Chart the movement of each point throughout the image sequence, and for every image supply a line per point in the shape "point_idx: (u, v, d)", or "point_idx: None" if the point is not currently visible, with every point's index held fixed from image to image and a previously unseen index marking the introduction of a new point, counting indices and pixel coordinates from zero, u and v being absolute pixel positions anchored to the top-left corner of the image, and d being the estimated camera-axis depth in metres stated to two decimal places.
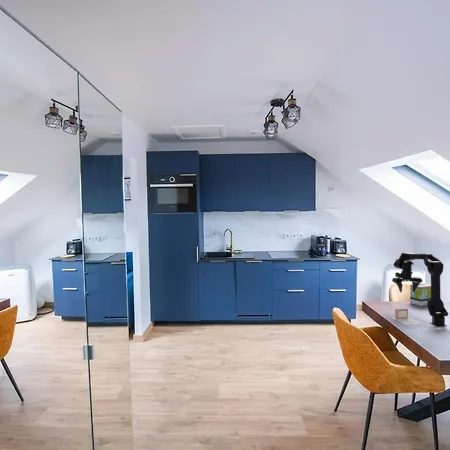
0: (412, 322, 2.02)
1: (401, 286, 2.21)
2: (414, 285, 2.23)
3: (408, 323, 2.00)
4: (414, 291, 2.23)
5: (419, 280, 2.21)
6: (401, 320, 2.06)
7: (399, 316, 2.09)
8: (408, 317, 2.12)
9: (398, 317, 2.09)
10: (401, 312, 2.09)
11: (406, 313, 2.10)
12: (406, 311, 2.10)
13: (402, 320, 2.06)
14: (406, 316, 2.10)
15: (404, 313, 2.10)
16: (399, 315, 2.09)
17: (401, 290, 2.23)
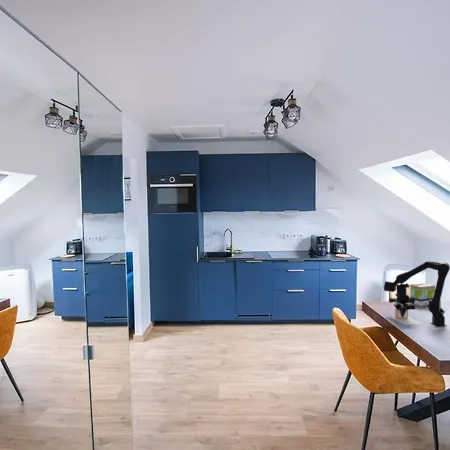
0: (412, 322, 2.02)
1: (396, 308, 2.12)
2: None
3: (408, 323, 2.00)
4: None
5: (404, 306, 2.03)
6: (401, 320, 2.06)
7: (399, 316, 2.09)
8: (408, 317, 2.12)
9: (398, 317, 2.09)
10: None
11: (406, 313, 2.10)
12: (406, 311, 2.10)
13: (402, 320, 2.06)
14: (406, 316, 2.10)
15: None
16: (399, 315, 2.09)
17: None
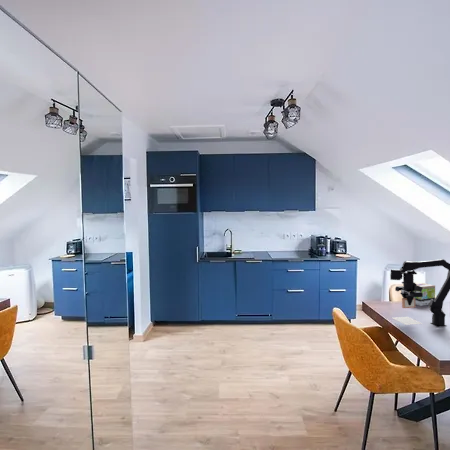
0: (412, 322, 2.02)
1: (403, 297, 2.05)
2: None
3: (408, 323, 2.00)
4: None
5: (411, 294, 1.96)
6: (401, 320, 2.06)
7: (406, 305, 2.03)
8: (408, 317, 2.12)
9: (405, 306, 2.03)
10: None
11: (413, 302, 2.03)
12: (414, 301, 2.03)
13: (402, 320, 2.06)
14: (413, 305, 2.03)
15: None
16: (406, 304, 2.03)
17: None
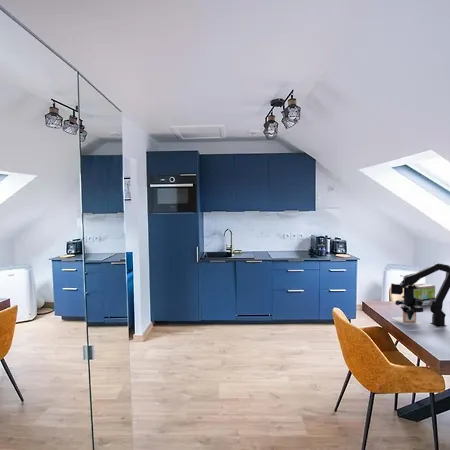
0: (412, 322, 2.02)
1: (403, 311, 2.05)
2: None
3: (408, 323, 2.00)
4: (409, 319, 2.02)
5: (412, 309, 1.96)
6: (401, 320, 2.06)
7: (407, 319, 2.02)
8: None
9: (406, 320, 2.02)
10: None
11: (414, 316, 2.03)
12: (414, 315, 2.03)
13: (402, 320, 2.06)
14: (414, 319, 2.03)
15: (412, 316, 2.03)
16: (407, 318, 2.02)
17: None
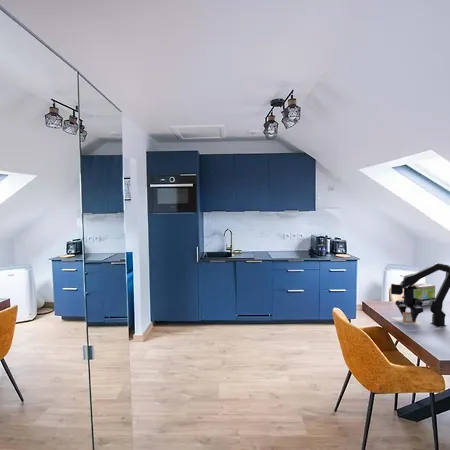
0: (412, 322, 2.02)
1: (400, 309, 2.08)
2: None
3: (408, 323, 2.00)
4: (413, 321, 1.99)
5: (412, 309, 1.96)
6: (401, 320, 2.06)
7: (407, 319, 2.02)
8: None
9: (406, 320, 2.02)
10: (409, 315, 2.02)
11: None
12: None
13: (402, 320, 2.06)
14: None
15: None
16: (407, 318, 2.02)
17: (402, 314, 2.08)
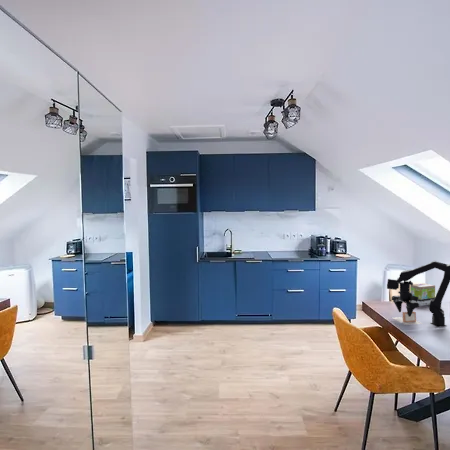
0: (412, 322, 2.02)
1: (396, 305, 2.12)
2: None
3: (408, 323, 2.00)
4: (408, 315, 2.02)
5: (408, 304, 2.00)
6: (401, 320, 2.06)
7: (407, 319, 2.03)
8: None
9: (406, 320, 2.02)
10: None
11: (414, 316, 2.03)
12: (414, 314, 2.03)
13: (402, 320, 2.06)
14: (414, 319, 2.03)
15: (412, 316, 2.03)
16: (407, 318, 2.03)
17: (398, 309, 2.12)
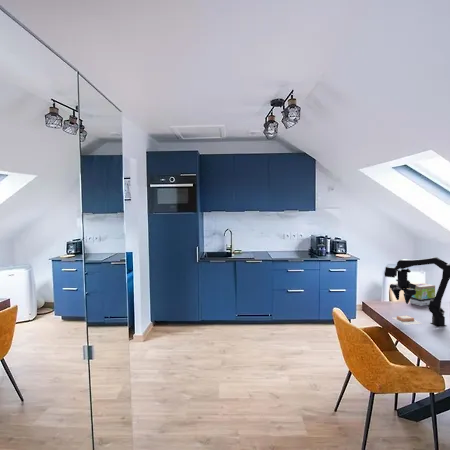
0: (412, 322, 2.02)
1: (394, 292, 2.14)
2: None
3: (408, 323, 2.00)
4: (406, 303, 2.04)
5: (405, 291, 2.02)
6: None
7: (403, 318, 2.06)
8: None
9: (403, 318, 2.05)
10: (403, 316, 2.08)
11: (409, 316, 2.08)
12: (408, 316, 2.09)
13: None
14: (411, 317, 2.06)
15: (406, 316, 2.08)
16: (403, 317, 2.06)
17: (396, 297, 2.14)
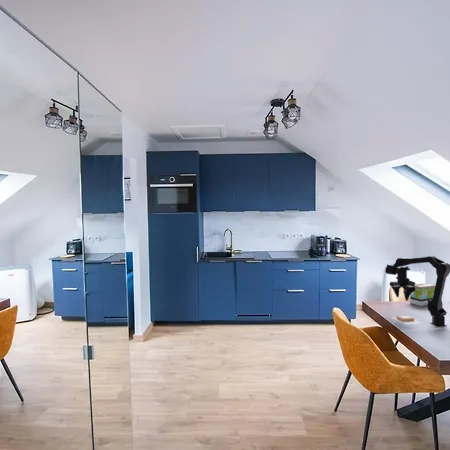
0: (412, 322, 2.02)
1: (394, 290, 2.21)
2: None
3: (408, 323, 2.00)
4: (405, 299, 2.11)
5: (404, 288, 2.08)
6: None
7: (403, 318, 2.06)
8: None
9: (403, 318, 2.05)
10: (403, 316, 2.08)
11: (409, 316, 2.08)
12: (408, 316, 2.09)
13: None
14: (411, 317, 2.06)
15: (406, 316, 2.08)
16: (403, 317, 2.06)
17: (396, 294, 2.20)
